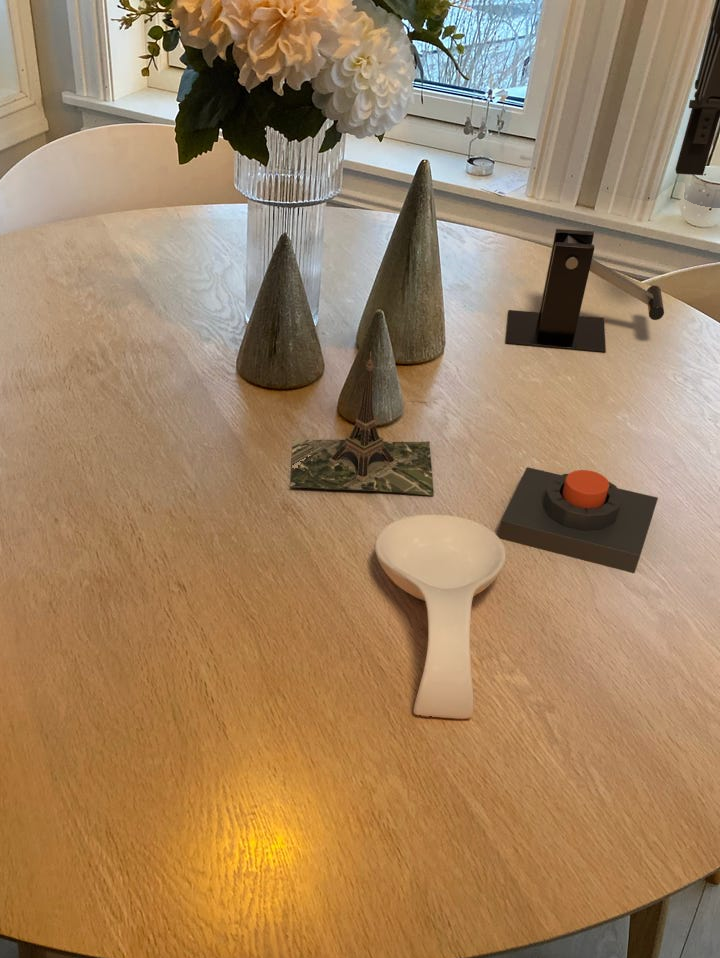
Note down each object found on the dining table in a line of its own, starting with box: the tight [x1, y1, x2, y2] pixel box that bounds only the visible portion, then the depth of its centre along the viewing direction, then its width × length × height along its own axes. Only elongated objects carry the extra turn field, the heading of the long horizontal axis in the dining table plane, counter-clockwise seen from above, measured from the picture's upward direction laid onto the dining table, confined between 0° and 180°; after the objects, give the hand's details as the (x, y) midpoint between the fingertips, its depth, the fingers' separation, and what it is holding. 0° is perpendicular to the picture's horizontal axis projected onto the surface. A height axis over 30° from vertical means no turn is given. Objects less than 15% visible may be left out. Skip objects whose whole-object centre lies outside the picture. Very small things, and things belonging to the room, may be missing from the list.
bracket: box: [504, 228, 607, 354], centre depth 121 cm, size 12×9×13 cm
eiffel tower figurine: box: [289, 352, 435, 497], centre depth 101 cm, size 15×10×13 cm
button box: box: [497, 466, 659, 574], centre depth 96 cm, size 13×10×4 cm
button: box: [562, 469, 610, 508], centre depth 95 cm, size 4×4×2 cm
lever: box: [563, 235, 665, 321], centre depth 119 cm, size 14×6×2 cm, turn 77°
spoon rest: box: [374, 513, 507, 720], centre depth 86 cm, size 24×12×7 cm, turn 175°
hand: (689, 171), depth 107 cm, fingers closed
